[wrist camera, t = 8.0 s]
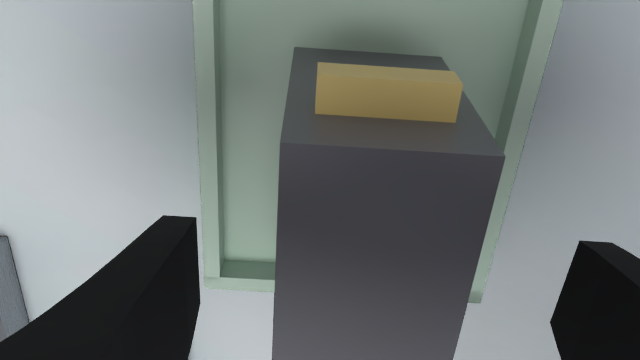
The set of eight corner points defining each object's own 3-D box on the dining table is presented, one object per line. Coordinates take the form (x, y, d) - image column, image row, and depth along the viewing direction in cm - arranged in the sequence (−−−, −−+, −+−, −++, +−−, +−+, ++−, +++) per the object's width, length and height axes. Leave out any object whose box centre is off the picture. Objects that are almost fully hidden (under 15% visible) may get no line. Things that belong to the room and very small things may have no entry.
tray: (555, -66, 14) (579, -60, 13) (469, 274, 19) (480, 303, 18) (200, -93, 14) (188, -89, 12) (212, 259, 19) (204, 288, 18)
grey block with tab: (446, 27, 15) (516, 114, 9) (404, 262, 18) (437, 417, 13) (295, 16, 14) (281, 99, 9) (284, 255, 18) (270, 409, 13)
